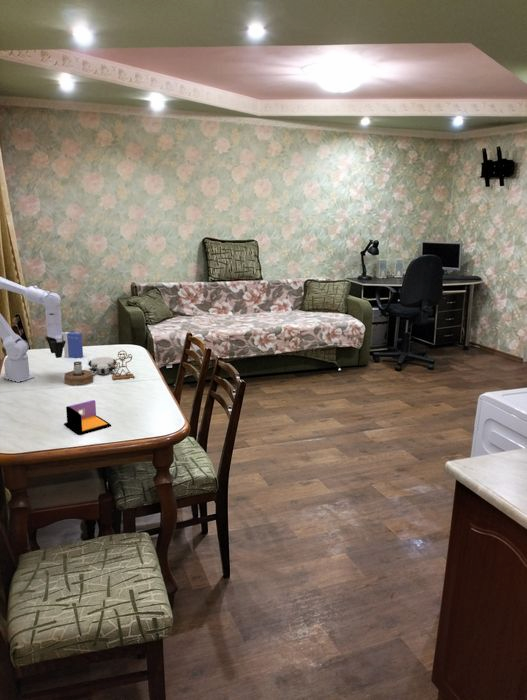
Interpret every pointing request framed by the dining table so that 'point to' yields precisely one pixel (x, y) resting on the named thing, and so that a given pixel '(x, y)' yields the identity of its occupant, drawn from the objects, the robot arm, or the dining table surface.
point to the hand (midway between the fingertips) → (56, 355)
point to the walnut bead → (78, 378)
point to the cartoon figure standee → (126, 375)
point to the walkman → (73, 345)
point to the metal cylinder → (78, 368)
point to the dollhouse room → (84, 418)
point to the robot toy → (102, 365)
